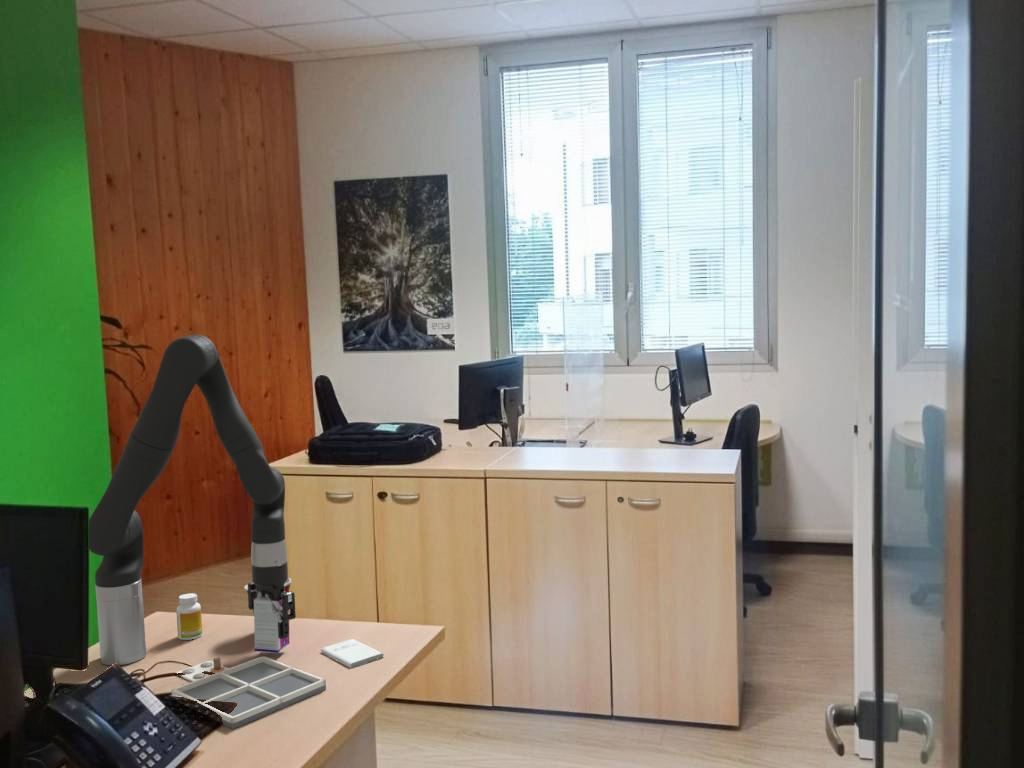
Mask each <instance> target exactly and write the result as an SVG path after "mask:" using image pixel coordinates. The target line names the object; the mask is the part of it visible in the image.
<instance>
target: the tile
mask: <svg viewBox="0 0 1024 768" xmlns="http://www.w3.org/2000/svg"><path fill="white" fill-rule="evenodd" d="M229 668H230V667H226V666H224V665H222V661H221V657H215V658H213V661H212V660H207V661H205V662H200V663H199V664H195V665H193V666H190V667H187V668H185V669H181V670H179V671H175V673H177V674H178V673H183V674H185V675H182V677H183V678H182V677H181V678H182V679H184V680H186V681H189V682H190V683H191V682H193V681H196V680H199V679H202V678H204V677H207V676H210V675H208V674H204V673H202V672H204V671H208V672H213V673H218V672H221V671H223V670H226V669H229Z"/></svg>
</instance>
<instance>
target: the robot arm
mask: <svg viewBox="0 0 1024 768" xmlns="http://www.w3.org/2000/svg"><path fill="white" fill-rule="evenodd" d="M195 386H197V387H198V389H199V390H200V392H201V394H202V395H203V397H204V399H205V401H206V404H207V405H208V409H209V412H210V415H211V419H212V423H213V425H214V428H215V431H216V435H217V436H218V439H219V440H220V442H221V444H222V445H223V447H224V449H225V451H226V453H227V454H228V456H229V457H230V459H231V461H232V463H233V464H234V466H235V468H236V471H237V474H238V476H239V478H240V481H241V483H242V486H243V488H244V490H245V493H247V495H248V497H249V498H250V499H251V500H252V501H253V515H252V518H251V524H250V526H251V527H250V528H251V529H250V530H251V550H250V554H251V555H250V557H251V559H250V560H251V579H252V580H251V581H252V583H251V582H249V583H248V582H247V584H248V593H247V602H248V603H247V605H248V609H249V610H250V611H251V610H252V613H253V612H254V603H253V599H254V598H258V597H260V598H261V597H265V598H266V600H268V601H271V602H272V601H273V600H274V601H279V599H281V602H282V607H279V608H278V609H277V608H276V607H275V605H274V604H273V603H272V607H273V608H272V612H273V613H277V619H278V621H279V622H278V637H279V638H280V639H284V638H287V637H288V636H289V637H290V621H291V620H294V619H296V618H297V617H296V615H297V614H296V599H295V598H296V596H295V592H294V591H289V592H285V588H284V583H285V582H286V581H287V579H288V578H289V574H288V573H289V570H288V569H289V568H288V567H289V566H288V565H289V564H288V548H287V543H286V530H285V529H286V526H285V516H284V515H285V514H284V513H285V512H284V511H285V501H286V499H285V498H286V483H285V478H284V476H283V474H282V473H281V471H280V470H278V469H277V468H275V467H271V466H270V464H269V462H268V460H267V458H266V456H265V450H264V449H265V448H264V446H263V443H262V442H261V440H260V438H259V437H258V435H257V433H256V432H255V430H254V428H253V426H252V424H251V423H250V421H249V420H248V418H247V416H246V414H245V412H244V411H243V409H242V406H241V404H240V403H239V400H238V398H237V396H236V395H235V393H234V390H233V388H232V386H231V383H230V381H229V378H228V376H227V373H226V372H225V368H224V365H223V362H222V360H221V357H220V355H219V352H218V350H217V347H216V346H215V344H214V342H213V341H212V340H211V339H210V338H208V337H207V336H204V335H202V334H189V335H185V336H181V337H178V338H176V339H174V340H172V342H170V343H169V344H168V345H167V347H166V349H165V351H164V353H163V355H162V358H161V361H160V365H159V368H158V371H157V375H156V378H155V380H154V383H153V386H152V389H151V391H150V394H149V396H148V398H147V400H146V401H145V404H144V405H143V407H142V409H141V412H140V414H139V416H138V418H137V420H136V422H135V423H134V424H135V425H133V428H132V430H131V432H130V433H129V434H130V435H129V437H128V439H127V442H126V443H125V446H124V448H123V451H122V453H121V456H120V458H119V461H118V462H117V465H116V467H115V469H114V472H113V474H112V475H111V479H110V480H109V483H108V485H107V487H106V490H105V492H104V493H103V495H102V497H101V498H100V500H99V502H98V503H97V505H96V507H95V508H94V511H93V512H92V514H91V515H90V517H89V519H88V520H89V549H88V550H89V551H90V552H91V553H92V554H94V555H97V556H102V559H101V562H100V564H99V566H98V567H97V569H96V570H95V573H94V583H95V585H94V586H95V596H96V597H95V598H96V611H97V613H96V614H97V627H98V641H99V653H100V654H99V655H100V663H101V664H103V665H105V666H113V665H112V664H115V663H117V664H119V665H118V666H123V665H129V664H133V663H136V662H138V661H140V660H142V659H143V658H145V657H146V656H147V644H146V643H147V642H146V627H145V626H146V625H145V614H144V599H143V598H144V597H143V585H142V583H143V582H142V570H143V566H144V561H145V551H144V550H145V549H144V547H145V545H144V544H145V543H144V542H145V541H144V528H143V523H142V519H141V517H140V515H139V514H138V512H137V511H136V507H137V506H138V504H139V503H140V501H141V499H142V498H143V497H144V495H145V494H146V493H147V491H148V490H149V489H150V488H151V487H152V485H153V484H154V483H155V482H156V480H157V479H158V478H159V476H160V475H161V474H162V473H163V471H164V469H165V468H166V466H167V465H168V463H169V460H170V459H171V457H172V454H173V452H174V449H175V447H176V444H177V442H178V439H179V436H180V431H181V430H180V429H181V424H182V416H183V413H184V408H185V406H186V404H187V403H186V402H187V401H188V399H189V397H190V395H191V393H192V391H193V390H194V387H195ZM288 610H289V612H288ZM280 611H283V616H282V615H281V613H280Z"/></svg>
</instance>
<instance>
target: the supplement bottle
mask: <svg viewBox="0 0 1024 768" xmlns="http://www.w3.org/2000/svg"><path fill="white" fill-rule="evenodd" d="M178 604H179V605H178V606H177V607H176V611H175V612H176V624H177V638H178V639H179V640H181V641H191V640H192V639H193V640H196V639H199V638H200V637H203V636H202V635H203V622H202V606H201V604H200V602H198V595H197V593H186V594H185V593H184V594H180V595H179V596H178Z"/></svg>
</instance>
